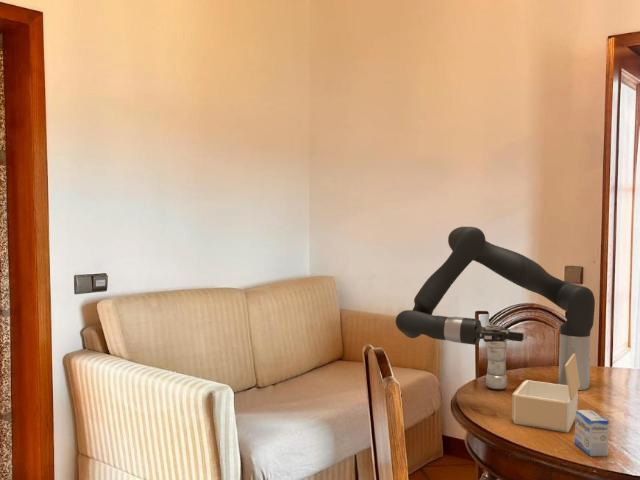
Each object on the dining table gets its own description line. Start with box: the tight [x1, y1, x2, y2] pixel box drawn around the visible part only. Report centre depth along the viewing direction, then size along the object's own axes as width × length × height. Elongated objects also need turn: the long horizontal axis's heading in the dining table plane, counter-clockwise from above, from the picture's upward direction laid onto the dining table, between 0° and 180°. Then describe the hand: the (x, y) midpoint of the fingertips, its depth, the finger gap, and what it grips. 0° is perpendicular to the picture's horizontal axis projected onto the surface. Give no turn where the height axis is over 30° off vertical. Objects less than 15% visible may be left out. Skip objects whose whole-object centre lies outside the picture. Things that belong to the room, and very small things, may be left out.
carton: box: [511, 379, 579, 433], centre depth 175 cm, size 17×15×8 cm
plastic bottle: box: [485, 325, 508, 390], centre depth 203 cm, size 6×7×20 cm
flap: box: [565, 354, 580, 400], centre depth 171 cm, size 15×9×1 cm
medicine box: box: [574, 409, 610, 457], centre depth 153 cm, size 8×4×9 cm, turn 5°
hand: (523, 337), depth 177 cm, fingers closed
